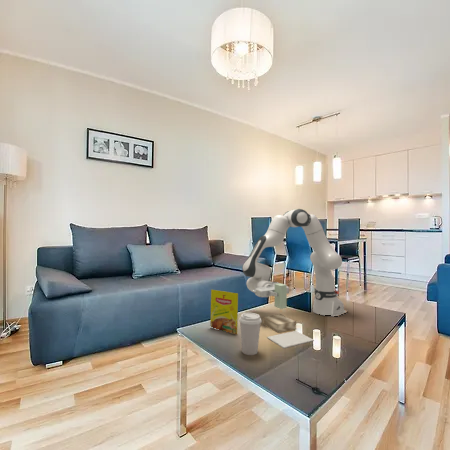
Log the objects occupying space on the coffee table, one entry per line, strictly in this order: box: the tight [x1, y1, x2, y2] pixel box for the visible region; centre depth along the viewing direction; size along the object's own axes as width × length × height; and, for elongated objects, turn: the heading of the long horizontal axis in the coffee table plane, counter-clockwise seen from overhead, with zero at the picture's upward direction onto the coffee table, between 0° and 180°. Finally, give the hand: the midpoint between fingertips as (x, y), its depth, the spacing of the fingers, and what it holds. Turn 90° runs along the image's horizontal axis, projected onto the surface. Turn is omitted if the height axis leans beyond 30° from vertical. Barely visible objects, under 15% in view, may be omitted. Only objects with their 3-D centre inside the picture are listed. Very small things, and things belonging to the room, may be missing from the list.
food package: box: [209, 289, 239, 335], centre depth 131 cm, size 15×1×20 cm, turn 62°
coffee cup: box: [238, 312, 263, 356], centre depth 110 cm, size 10×10×15 cm
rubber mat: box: [266, 330, 315, 349], centre depth 123 cm, size 18×12×1 cm, turn 118°
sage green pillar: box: [273, 282, 288, 310], centre depth 139 cm, size 4×5×12 cm
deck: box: [263, 313, 297, 333], centre depth 139 cm, size 12×12×4 cm
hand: (281, 294), depth 138 cm, fingers closed on sage green pillar, 4 cm apart
